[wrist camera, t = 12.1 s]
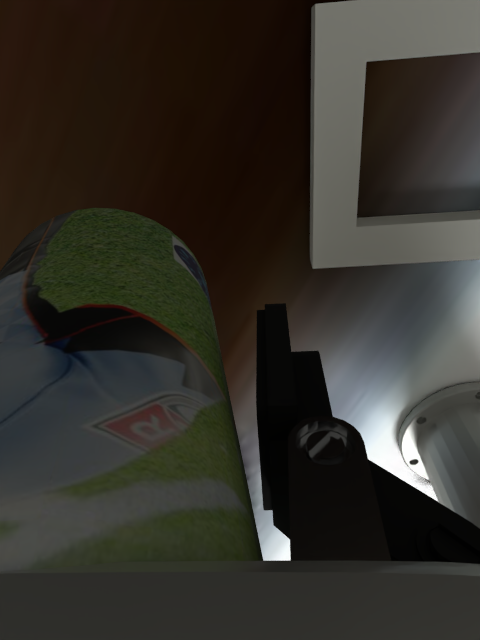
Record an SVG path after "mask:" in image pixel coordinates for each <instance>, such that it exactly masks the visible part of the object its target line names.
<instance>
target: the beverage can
mask: <svg viewBox="0 0 480 640" xmlns="http://www.w3.org/2000/svg"><path fill="white" fill-rule="evenodd" d="M138 561H263V557H262V553H261V548H260V543H259V538H258V533H257V528H256V523H255V518H254V513H253V509H252V504H251V499H250V494H249V489H248V484H247V479H246V474H245V470H244V465H243V460H242V455H241V450H240V445H239V440H238V435H237V431H236V426H235V421H234V416H233V411H232V406H231V401H230V396H229V391H228V387H227V382H226V377H225V372H224V367H223V362H222V357H221V352H220V348H219V343H218V338H217V333H216V328H215V323H214V318H213V313H212V308H211V304H210V299H209V294H208V289H207V284H206V281H205V278H204V275H203V272H202V269H201V267H200V265H199V263H198V262H197V260H196V258H195V256H194V254H193V253H192V252H191V251H190V250H189V248H188V247H187V246H186V245H185V244H184V242H183V241H182V240H181V239H179V238H178V237H177V236H176V235H175V234H173V233H172V232H171V231H170V230H169V229H167V228H165V227H164V226H162V225H160V224H158V223H157V222H155V221H153V220H151V219H149V218H146V217H143V216H141V215H138V214H136V213H132V212H127V211H122V210H118V209H106V208H91V209H83V210H75V211H72V212H69V213H65V214H62V215H59V216H56V217H54V218H52V219H50V220H48V221H46V222H45V223H43V224H41V225H39V226H38V227H37V228H36V229H34V230H33V231H32V232H31V233H29V234H28V235H27V236H26V237H25V238H24V239H23V241H22V242H21V243H20V244H19V246H18V247H17V248H16V249H15V251H14V252H13V254H12V255H11V257H10V258H9V260H8V261H7V263H6V264H5V266H4V267H3V269H2V270H1V271H0V571H14V570H31V569H44V568H56V567H68V566H81V565H93V564H103V563H113V562H138Z"/></svg>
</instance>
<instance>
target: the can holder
mask: <svg viewBox="0 0 480 640" xmlns="http://www.w3.org/2000/svg"><path fill="white" fill-rule="evenodd" d="M476 52H480V0H352V1H341V2H331V3H320V4H315V5H314V6H313V7H312V8H311V140H310V261H311V265H312V268H313V269H317V268H335V267H353V266H371V265H389V264H407V263H425V262H443V261H461V260H479V259H480V210H474V211H458V212H442V213H426V214H410V215H394V216H378V217H362V218H357V206H358V189H359V173H360V157H361V140H362V124H363V108H364V91H365V75H366V62H369V61H381V60H393V59H405V58H417V57H429V56H440V55H452V54H464V53H476Z"/></svg>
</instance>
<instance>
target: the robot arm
mask: <svg viewBox="0 0 480 640" xmlns="http://www.w3.org/2000/svg"><path fill="white" fill-rule="evenodd" d="M256 405H257V424H258V438H259V452H260V466H261V480H262V494H263V508H264V510H273V523H274V526H275V527H276V528H278V529H279V530H280V531H281V532H282V533H283V534H285V535H286V536H287V537H288V538H289V539H290V551H291V561H138V562H113V563H103V564H93V565H81V566H68V567H56V568H44V569H31V570H14V571H0V640H480V382H473V383H466V384H460V385H456V386H453V387H449V388H446V389H444V390H442V391H439V392H437V393H435V394H433V395H431V396H430V397H428V398H426V399H425V400H423V401H422V402H421V403H420V404H418V405H417V406H416V407H415V408H414V409H413V410H412V411H411V412H410V413H409V415H408V416H407V417H406V418H405V420H404V422H403V424H402V426H401V429H400V432H399V440H398V445H399V448H400V452H401V455H402V457H403V459H404V462H405V463H406V464H407V466H408V467H409V468H410V469H411V470H412V471H413V472H414V473H416V474H417V475H419V476H421V477H423V478H425V479H427V480H430V482H431V485H432V487H433V490H434V492H435V494H436V497H437V499H438V502H437V501H436V500H434V499H432V498H431V497H429V496H427V495H426V494H424V493H422V492H421V491H419V490H418V489H416V488H414V487H413V486H411V485H409V484H408V483H406V482H404V481H403V480H401V479H399V478H398V477H396V476H395V475H393V474H391V473H390V472H388V471H386V470H385V469H383V468H381V467H380V466H378V465H376V464H375V463H373V462H372V461H370V460H368V458H367V453H366V449H365V445H364V441H363V439H362V437H361V434H360V433H359V432H358V431H357V430H356V429H355V427H354V426H352V425H351V424H349V423H347V422H346V421H344V420H341V419H338V418H335V417H333V416H332V411H331V406H330V402H329V397H328V392H327V387H326V383H325V378H324V373H323V368H322V364H321V359H320V354H319V352H318V351H301V352H291V346H290V337H289V329H288V320H287V311H286V304H265V310H257V378H256Z"/></svg>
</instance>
